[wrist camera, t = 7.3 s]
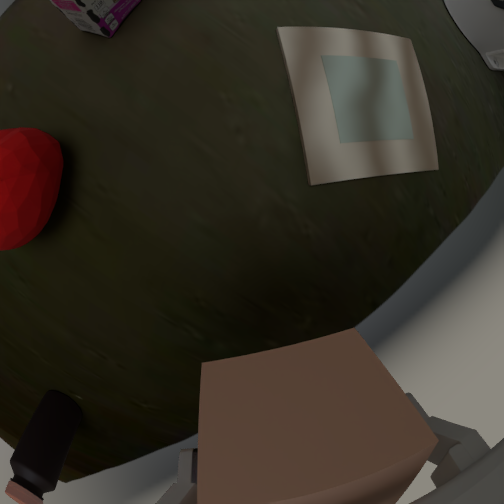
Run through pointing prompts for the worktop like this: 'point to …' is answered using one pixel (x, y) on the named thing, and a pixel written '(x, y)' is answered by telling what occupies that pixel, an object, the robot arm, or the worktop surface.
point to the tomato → (27, 183)
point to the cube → (307, 427)
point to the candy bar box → (96, 14)
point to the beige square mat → (357, 103)
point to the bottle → (43, 448)
